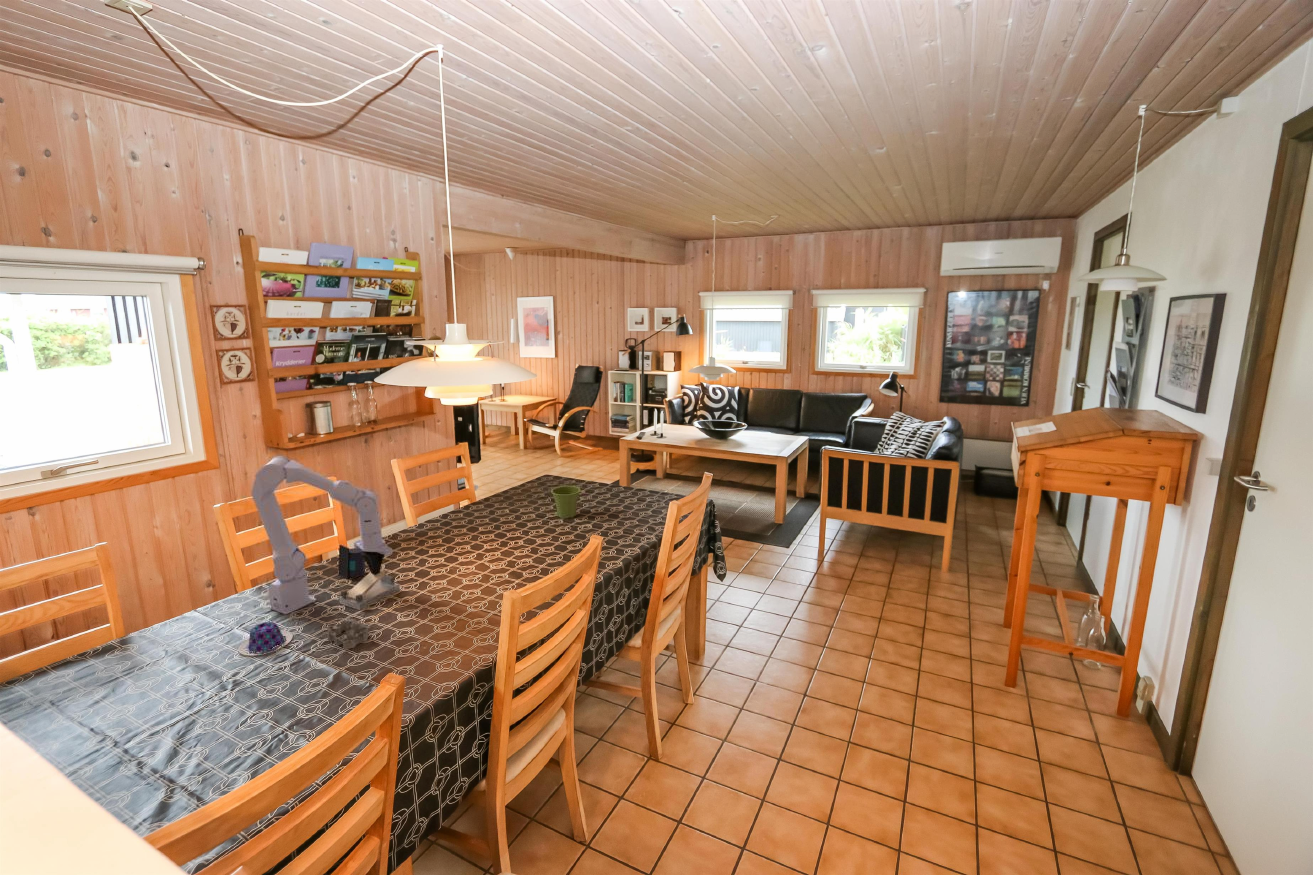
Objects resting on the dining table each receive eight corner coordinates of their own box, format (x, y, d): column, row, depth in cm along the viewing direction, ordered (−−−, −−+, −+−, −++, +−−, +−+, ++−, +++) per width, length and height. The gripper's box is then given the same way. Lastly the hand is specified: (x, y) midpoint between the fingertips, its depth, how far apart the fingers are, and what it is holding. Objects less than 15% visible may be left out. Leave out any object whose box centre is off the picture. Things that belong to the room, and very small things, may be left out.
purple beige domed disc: (248, 636, 162) (245, 618, 161) (298, 629, 166) (295, 612, 165) (231, 661, 151) (228, 642, 150) (285, 653, 155) (283, 635, 154)
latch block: (360, 610, 176) (358, 597, 175) (339, 603, 180) (338, 591, 179) (399, 590, 188) (398, 578, 187) (379, 584, 192) (378, 572, 191)
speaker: (340, 581, 193) (340, 549, 192) (338, 575, 198) (337, 544, 196) (366, 577, 197) (366, 546, 196) (363, 571, 202) (363, 541, 201)
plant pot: (553, 511, 257) (552, 486, 255) (581, 510, 258) (580, 485, 256) (551, 521, 246) (550, 495, 243) (580, 520, 247) (580, 494, 244)
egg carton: (324, 639, 161) (321, 626, 160) (351, 627, 167) (349, 613, 166) (346, 652, 155) (344, 637, 154) (373, 638, 161) (371, 624, 160)
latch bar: (357, 600, 177) (356, 598, 176) (346, 596, 179) (345, 595, 179) (387, 572, 185) (386, 571, 185) (375, 569, 187) (374, 567, 187)
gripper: (398, 530, 182) (403, 572, 185) (366, 523, 188) (371, 563, 191) (378, 539, 175) (383, 582, 179) (345, 530, 182) (351, 572, 185)
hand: (376, 573), depth 184 cm, fingers closed, pressing on latch bar
